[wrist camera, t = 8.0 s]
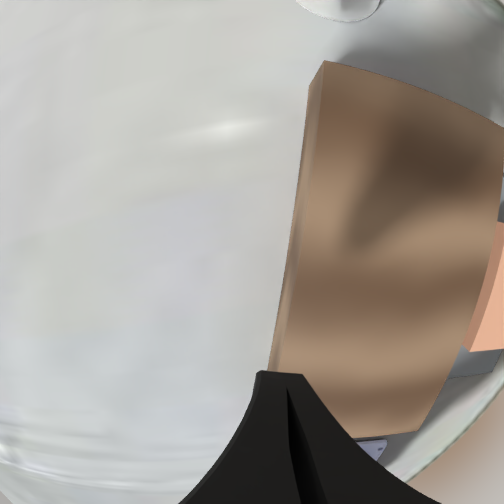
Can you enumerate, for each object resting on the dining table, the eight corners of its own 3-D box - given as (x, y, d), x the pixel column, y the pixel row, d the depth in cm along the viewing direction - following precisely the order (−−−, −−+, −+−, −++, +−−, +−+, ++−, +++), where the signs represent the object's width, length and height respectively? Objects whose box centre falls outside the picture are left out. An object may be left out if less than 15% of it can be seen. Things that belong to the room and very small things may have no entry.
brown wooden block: (399, 397, 19) (418, 430, 16) (262, 396, 19) (262, 437, 15) (465, 133, 15) (504, 128, 11) (309, 86, 14) (324, 60, 11)
